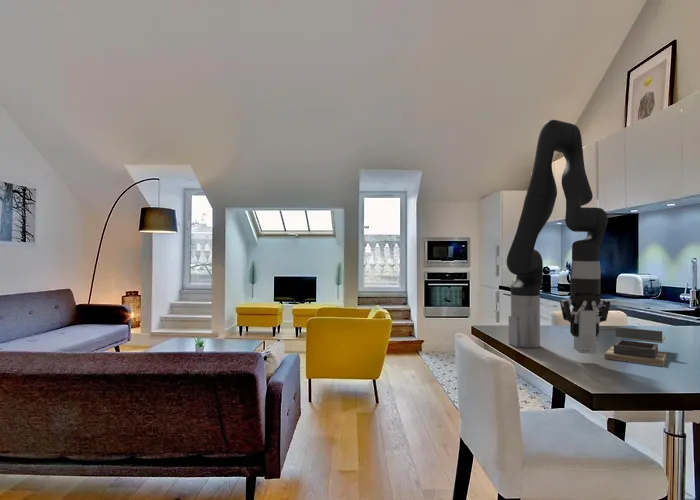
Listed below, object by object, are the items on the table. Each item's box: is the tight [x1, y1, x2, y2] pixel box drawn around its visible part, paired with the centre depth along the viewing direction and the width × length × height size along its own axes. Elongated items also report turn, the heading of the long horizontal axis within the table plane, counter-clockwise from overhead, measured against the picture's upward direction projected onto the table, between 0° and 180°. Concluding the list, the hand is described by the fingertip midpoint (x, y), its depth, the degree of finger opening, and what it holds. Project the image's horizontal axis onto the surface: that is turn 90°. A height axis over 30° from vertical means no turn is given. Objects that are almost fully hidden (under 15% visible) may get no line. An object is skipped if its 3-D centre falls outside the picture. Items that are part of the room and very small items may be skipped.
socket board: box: [604, 339, 668, 367], centre depth 126 cm, size 14×14×4 cm
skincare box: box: [573, 310, 597, 355], centre depth 121 cm, size 6×4×12 cm
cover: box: [615, 326, 666, 344], centre depth 135 cm, size 12×12×4 cm
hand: (584, 335), depth 121 cm, fingers closed on skincare box, 5 cm apart
